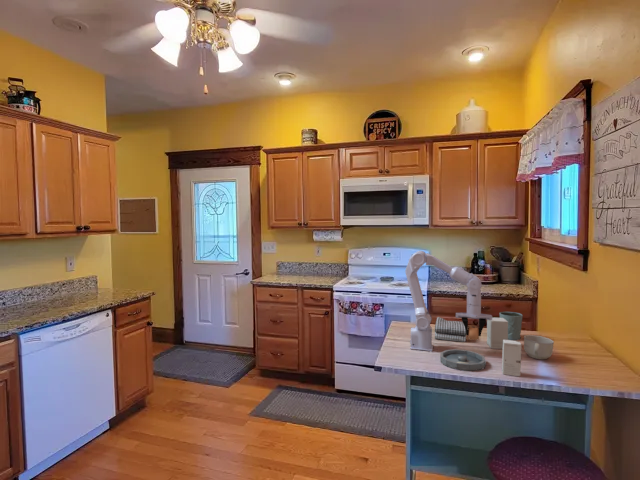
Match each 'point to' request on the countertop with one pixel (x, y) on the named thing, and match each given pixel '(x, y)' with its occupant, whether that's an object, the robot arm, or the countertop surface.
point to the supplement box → (497, 332)
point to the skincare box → (511, 357)
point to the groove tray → (462, 360)
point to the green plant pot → (513, 324)
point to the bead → (473, 332)
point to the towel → (450, 330)
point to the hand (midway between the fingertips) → (473, 335)
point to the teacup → (538, 346)
